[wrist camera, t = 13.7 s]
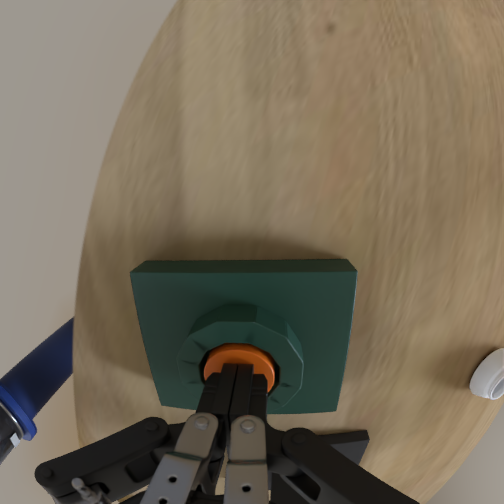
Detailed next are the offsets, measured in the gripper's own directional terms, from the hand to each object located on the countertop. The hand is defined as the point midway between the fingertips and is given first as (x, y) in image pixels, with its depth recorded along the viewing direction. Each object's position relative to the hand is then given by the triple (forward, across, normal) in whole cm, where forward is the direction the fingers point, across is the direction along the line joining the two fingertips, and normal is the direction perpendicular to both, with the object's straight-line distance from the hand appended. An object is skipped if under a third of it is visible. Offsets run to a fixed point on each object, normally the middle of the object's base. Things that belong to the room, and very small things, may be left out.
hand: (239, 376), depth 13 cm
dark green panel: (+4, 0, 0) cm, 4 cm away
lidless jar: (+4, -22, +6) cm, 23 cm away
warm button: (+2, 0, 0) cm, 2 cm away
